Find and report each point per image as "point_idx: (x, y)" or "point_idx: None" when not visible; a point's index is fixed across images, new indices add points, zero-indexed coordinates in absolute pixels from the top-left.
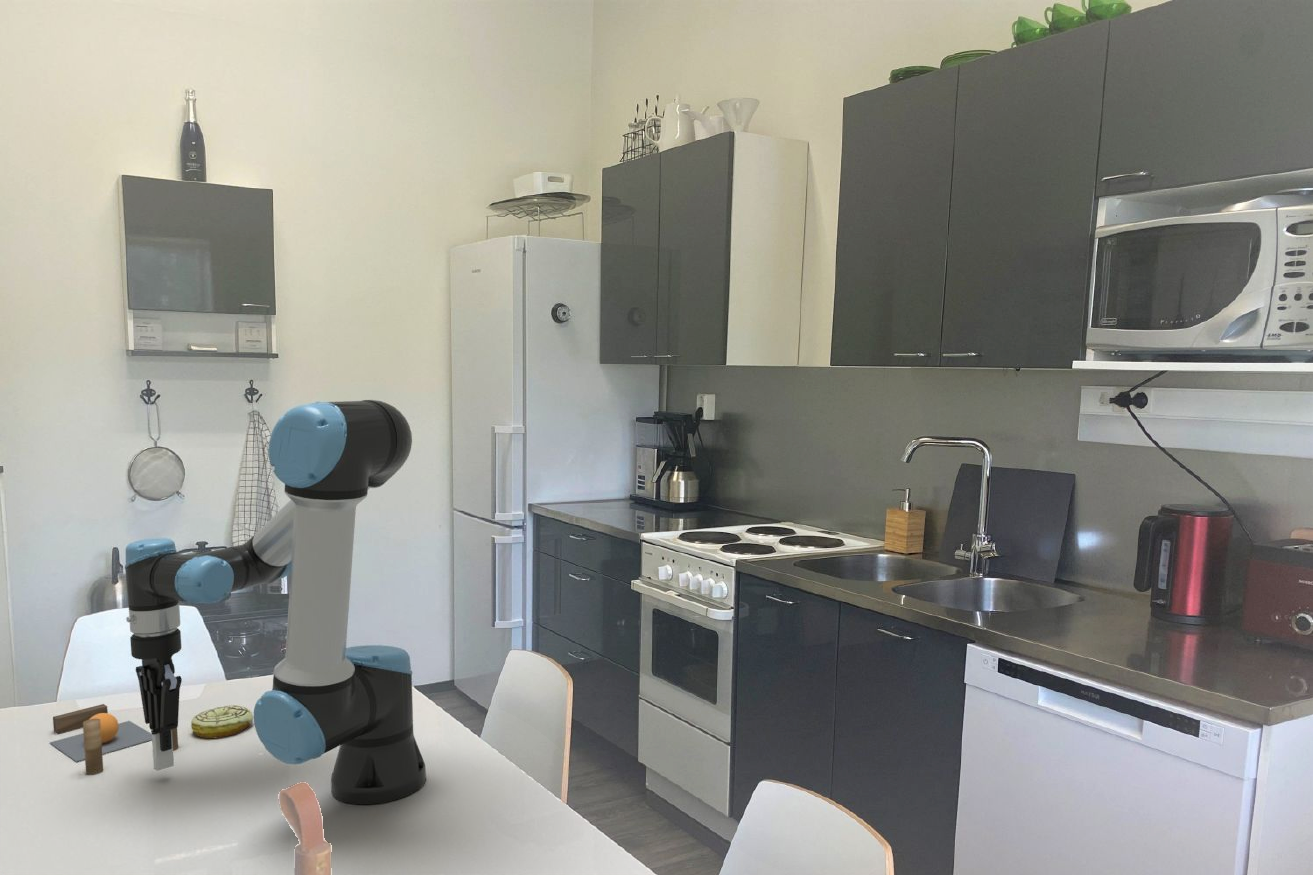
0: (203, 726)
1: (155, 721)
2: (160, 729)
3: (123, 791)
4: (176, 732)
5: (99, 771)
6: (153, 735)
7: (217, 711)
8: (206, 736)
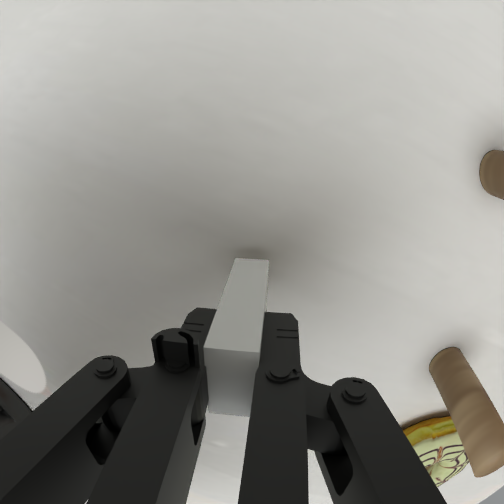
0: (420, 443)
1: (182, 404)
2: (108, 362)
3: (273, 143)
4: (444, 402)
5: (481, 175)
6: (234, 337)
7: (445, 470)
8: (412, 427)
